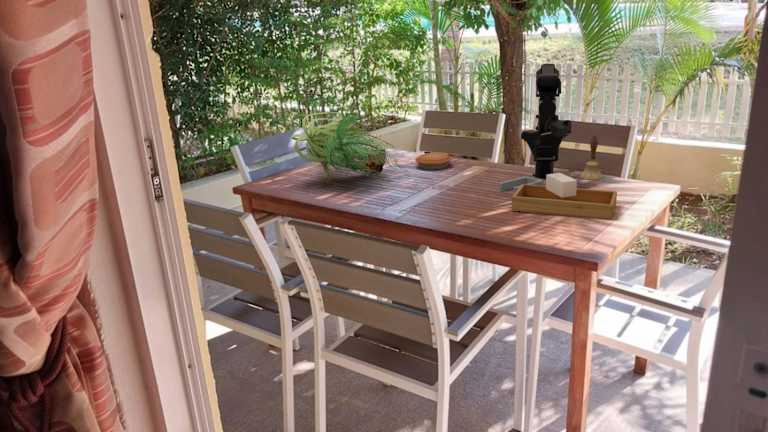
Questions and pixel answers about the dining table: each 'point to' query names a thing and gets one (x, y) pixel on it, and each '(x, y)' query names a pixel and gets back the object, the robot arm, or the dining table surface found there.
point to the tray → (565, 202)
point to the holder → (518, 183)
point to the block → (561, 184)
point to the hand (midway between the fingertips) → (545, 156)
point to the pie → (433, 161)
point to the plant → (344, 147)
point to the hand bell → (592, 163)
